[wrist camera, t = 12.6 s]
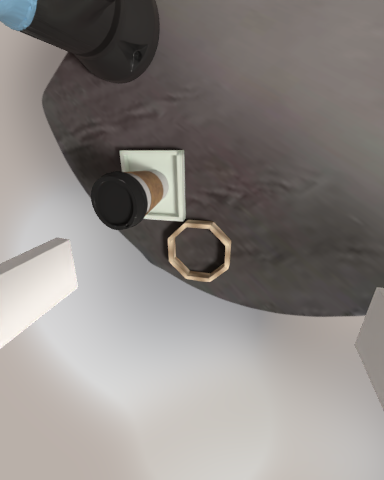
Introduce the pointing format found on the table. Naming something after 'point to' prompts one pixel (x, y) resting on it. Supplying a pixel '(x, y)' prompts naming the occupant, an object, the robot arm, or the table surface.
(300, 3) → the table surface
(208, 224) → the holder ring
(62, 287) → the robot arm
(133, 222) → the coffee cup
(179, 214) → the tray
